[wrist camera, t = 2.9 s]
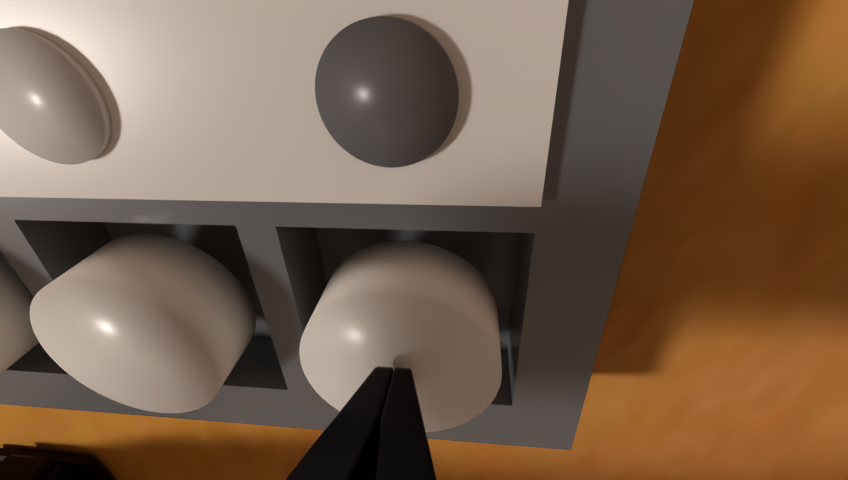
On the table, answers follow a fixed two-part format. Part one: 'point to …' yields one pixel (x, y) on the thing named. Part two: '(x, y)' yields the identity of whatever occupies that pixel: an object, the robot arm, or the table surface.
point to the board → (340, 168)
